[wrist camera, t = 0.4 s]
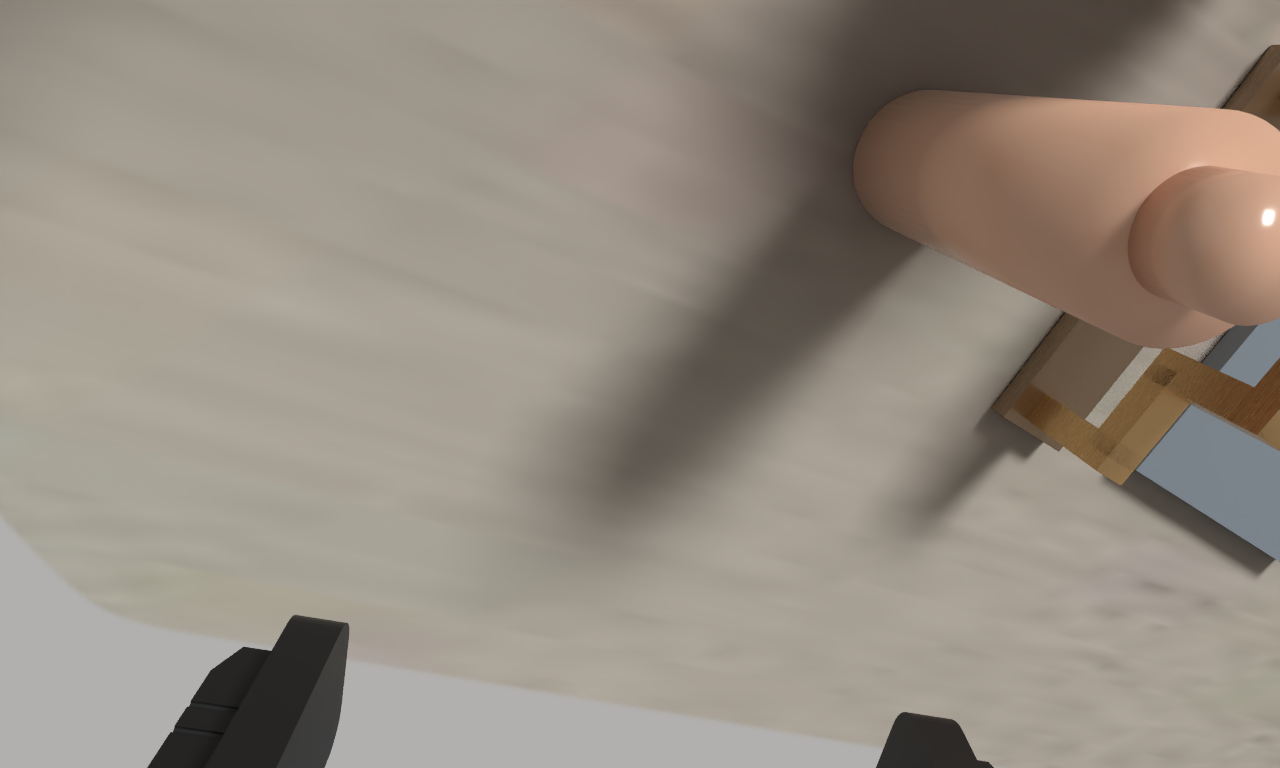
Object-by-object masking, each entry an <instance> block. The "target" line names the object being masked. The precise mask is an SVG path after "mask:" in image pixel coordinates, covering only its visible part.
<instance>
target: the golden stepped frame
mask: <svg viewBox="0 0 1280 768" xmlns="http://www.w3.org/2000/svg"><path fill="white" fill-rule="evenodd" d="M1222 109H1228V110H1237V111H1242V112H1245V113H1249V114H1252V115H1254V116H1257V117H1259V118H1261V119H1263V120H1265V121H1267V122H1268V123H1269V124H1271V125H1272V126H1274V127H1275V128H1277V129H1278V130H1279V131H1280V45H1271V46H1270V48H1269V49H1268V50H1267V51H1266V53H1265V54H1264V55H1263V57H1262V58H1261V59H1260V61H1259V62H1258V63H1257V64H1256V66H1255V67H1254V68H1253V70H1252V71H1251V72H1250V73H1249V75H1248V76H1247V77H1246V79H1245V80H1244V81H1243V83H1242V84H1241V85H1240V86H1239V88H1238V89H1237V90H1236V92H1235V93H1234V94H1233V95H1232V97H1231V98H1230V99H1229V101H1228V102H1227V103H1226V105H1225V106H1224V107H1223V108H1222ZM1143 347H1144V346H1139V345H1136V344H1133V343H1130V342H1128V341H1125V340H1123V339H1121V338H1119V337H1117V336H1114V335H1112V334H1110V333H1108V332H1106V331H1104V330H1102V329H1100V328H1098V327H1095V326H1093V325H1091V324H1089V323H1087V322H1085V321H1083V320H1081V319H1079V318H1077V317H1074V316H1072V315H1070V314H1068V313H1066V312H1065V313H1064V314H1063V316H1062V317H1061V318H1060V320H1059V321H1058V322H1057V323H1056V325H1055V326H1054V327H1053V329H1052V330H1051V331H1050V332H1049V334H1048V335H1047V336H1046V338H1045V339H1044V340H1043V342H1042V343H1041V344H1040V345H1039V347H1038V348H1037V349H1036V351H1035V352H1034V353H1033V354H1032V356H1031V357H1030V358H1029V360H1028V361H1027V362H1026V364H1025V365H1024V366H1023V367H1022V369H1021V370H1020V371H1019V373H1018V374H1017V375H1016V376H1015V378H1014V379H1013V380H1012V382H1011V383H1010V384H1009V386H1008V387H1007V388H1006V389H1005V391H1004V392H1003V393H1002V395H1001V396H1000V397H999V399H998V400H997V401H996V402H995V404H994V405H993V406H992V409H994V410H995V411H996V412H998V413H999V414H1000V415H1001V416H1003V417H1004V418H1006V419H1007V420H1009V421H1011V422H1012V423H1014V424H1015V425H1017V426H1019V427H1020V428H1022V429H1023V430H1025V431H1027V432H1028V433H1030V434H1031V435H1033V436H1035V437H1036V438H1038V439H1039V440H1041V441H1043V442H1044V443H1046V444H1047V445H1049V446H1051V447H1052V448H1054V449H1055V450H1057V451H1060V449H1061V448H1062V447H1063V446H1064V447H1065V448H1066V449H1068V450H1069V451H1070V452H1072V453H1073V454H1075V455H1076V456H1077V457H1079V458H1080V459H1081V460H1083V461H1084V462H1085V463H1087V464H1088V465H1089V466H1091V467H1092V468H1094V469H1095V470H1096V471H1098V472H1099V473H1101V474H1103V475H1104V476H1106V477H1107V478H1109V479H1111V480H1112V481H1114V482H1115V483H1117V484H1119V485H1120V486H1121V485H1122V484H1123V483H1124V482H1125V480H1126V479H1127V478H1128V477H1129V476H1130V474H1131V473H1132V472H1133V471H1134V470H1135V469H1136V467H1137V466H1138V465H1139V464H1140V463H1141V461H1142V460H1143V459H1144V458H1145V457H1146V455H1147V454H1148V453H1149V452H1150V451H1151V449H1152V448H1153V447H1154V446H1155V445H1156V443H1157V442H1158V441H1159V440H1160V439H1161V438H1162V436H1163V435H1164V434H1165V433H1166V432H1167V430H1168V429H1169V428H1170V427H1171V426H1172V424H1173V423H1174V422H1175V421H1176V420H1177V418H1178V417H1179V416H1180V415H1181V414H1182V412H1183V411H1184V410H1185V409H1186V408H1187V407H1188V405H1189V404H1190V405H1192V406H1194V407H1196V408H1198V409H1200V410H1202V411H1204V412H1206V413H1208V414H1209V415H1211V416H1213V417H1215V418H1217V419H1219V420H1221V421H1223V422H1225V423H1227V424H1228V425H1230V426H1232V427H1234V428H1236V429H1238V430H1240V431H1242V432H1244V433H1246V434H1247V435H1249V436H1251V437H1253V438H1255V439H1257V440H1259V441H1261V442H1263V443H1265V444H1266V445H1268V446H1270V447H1272V448H1274V449H1276V450H1278V451H1280V358H1279V359H1278V360H1277V361H1276V362H1275V364H1274V365H1273V366H1272V367H1271V368H1270V369H1269V371H1268V372H1267V373H1266V374H1265V375H1264V376H1263V378H1262V379H1261V380H1260V381H1259V382H1258V384H1257V385H1256V386H1255V387H1253V386H1251V385H1249V384H1246V383H1244V382H1242V381H1240V380H1238V379H1235V378H1233V377H1231V376H1229V375H1226V374H1224V373H1222V372H1220V371H1218V370H1215V369H1213V368H1211V367H1209V366H1207V365H1204V364H1202V363H1200V362H1198V361H1196V360H1193V359H1191V358H1189V357H1187V356H1185V355H1182V354H1180V353H1178V352H1176V351H1174V350H1171V349H1169V348H1167V349H1163V350H1162V352H1161V353H1160V354H1159V355H1158V356H1157V358H1156V359H1155V360H1154V361H1153V363H1152V364H1151V365H1150V366H1149V367H1148V369H1147V370H1146V371H1145V372H1144V374H1143V375H1142V376H1141V377H1140V379H1139V380H1138V381H1137V382H1136V383H1135V385H1134V386H1133V387H1132V388H1131V390H1130V391H1129V392H1128V393H1127V394H1126V396H1125V397H1124V398H1123V399H1122V401H1121V402H1120V403H1119V404H1118V406H1117V407H1116V408H1115V409H1114V410H1113V412H1112V413H1111V414H1110V415H1109V417H1108V418H1107V419H1106V420H1105V421H1104V423H1103V424H1102V425H1101V426H1100V428H1097V427H1095V426H1094V425H1092V424H1091V423H1089V422H1088V421H1086V420H1085V418H1086V417H1087V416H1088V415H1089V413H1090V412H1091V411H1092V410H1093V409H1094V407H1095V406H1096V405H1097V404H1098V402H1099V401H1100V400H1101V399H1102V397H1103V396H1104V395H1105V394H1106V392H1107V391H1108V390H1109V389H1110V387H1111V386H1112V385H1113V384H1114V383H1115V381H1116V380H1117V379H1118V378H1119V376H1120V375H1121V374H1122V373H1123V371H1124V370H1125V369H1126V368H1127V366H1128V365H1129V364H1130V363H1131V361H1132V360H1133V359H1134V358H1135V357H1136V355H1137V354H1138V353H1139V352H1140V350H1141V349H1142V348H1143Z"/></svg>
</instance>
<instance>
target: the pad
mask: <svg viewBox="0 0 1280 768" xmlns="http://www.w3.org/2000/svg"><path fill="white" fill-rule="evenodd" d="M1279 358H1280V318H1278V319H1276V320H1274V321H1271V322H1268V323H1264V324H1260V325H1253V326H1240V325H1235V326H1233V327H1232V328H1230V329H1229V331H1228V332H1227V333H1226V334H1225V335H1224V337H1223V338H1222V339H1221V340H1220V341H1219V343H1218V344H1217V345H1216V346H1215V347H1214V349H1213V350H1212V351H1211V352H1210V354H1209V355H1208V356H1207V357H1206V358H1205V360H1204V361H1203V362H1202V364H1204V365H1207V366H1209V367H1211V368H1213V369H1215V370H1218V371H1220V372H1222V373H1224V374H1226V375H1229V376H1231V377H1233V378H1235V379H1238V380H1240V381H1242V382H1244V383H1246V384H1249V385H1251V386H1253V387H1255V386H1256V385H1257V384H1258V382H1259V381H1260V380H1261V379H1262V378H1263V376H1264V375H1265V374H1266V373H1267V372H1268V371H1269V369H1270V368H1271V367H1272V366H1273V365H1274V364H1275V362H1276V361H1277V360H1278V359H1279ZM1135 470H1136V471H1138V472H1139V473H1141V474H1142V475H1144V476H1146V477H1147V478H1149V479H1150V480H1152V481H1153V482H1155V483H1157V484H1158V485H1160V486H1161V487H1163V488H1164V489H1166V490H1168V491H1169V492H1171V493H1172V494H1174V495H1175V496H1177V497H1179V498H1180V499H1182V500H1183V501H1185V502H1186V503H1188V504H1190V505H1191V506H1193V507H1194V508H1196V509H1197V510H1199V511H1201V512H1202V513H1204V514H1205V515H1207V516H1208V517H1210V518H1212V519H1213V520H1215V521H1216V522H1218V523H1219V524H1221V525H1223V526H1224V527H1226V528H1227V529H1229V530H1230V531H1232V532H1234V533H1235V534H1237V535H1238V536H1240V537H1241V538H1243V539H1245V540H1246V541H1248V542H1249V543H1251V544H1252V545H1254V546H1256V547H1257V548H1259V549H1260V550H1262V551H1263V552H1265V553H1267V554H1268V555H1270V556H1271V557H1273V558H1274V559H1276V560H1278V561H1279V562H1280V451H1278V450H1276V449H1274V448H1272V447H1270V446H1268V445H1266V444H1265V443H1263V442H1261V441H1259V440H1257V439H1255V438H1253V437H1251V436H1249V435H1247V434H1246V433H1244V432H1242V431H1240V430H1238V429H1236V428H1234V427H1232V426H1230V425H1228V424H1227V423H1225V422H1223V421H1221V420H1219V419H1217V418H1215V417H1213V416H1211V415H1209V414H1208V413H1206V412H1204V411H1202V410H1200V409H1198V408H1196V407H1194V406H1192V405H1190V404H1189V405H1188V407H1187V408H1186V409H1185V410H1184V411H1183V412H1182V414H1181V415H1180V416H1179V417H1178V418H1177V420H1176V421H1175V422H1174V423H1173V424H1172V426H1171V427H1170V428H1169V429H1168V430H1167V432H1166V433H1165V434H1164V435H1163V436H1162V438H1161V439H1160V440H1159V441H1158V442H1157V443H1156V445H1155V446H1154V447H1153V448H1152V449H1151V451H1150V452H1149V453H1148V454H1147V455H1146V457H1145V458H1144V459H1143V460H1142V461H1141V463H1140V464H1139V465H1138V466H1137V467H1136V469H1135Z"/></svg>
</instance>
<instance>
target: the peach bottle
mask: <svg viewBox="0 0 1280 768" xmlns="http://www.w3.org/2000/svg"><path fill="white" fill-rule="evenodd" d="M853 179H854V184H855V189H856V192H857V195H858V198H859V200H860V201H861V203H862V205H863V207H864V208H865V210H866V211H867V212H868V213H869V214H870V215H871V216H872V217H873V218H874V219H875V220H876V221H877V222H879V223H880V224H882V225H884V226H885V227H887V228H889V229H892V230H894V231H896V232H898V233H900V234H902V235H904V236H906V237H908V238H910V239H913V240H915V241H917V242H919V243H921V244H923V245H925V246H927V247H929V248H931V249H934V250H936V251H938V252H940V253H942V254H944V255H946V256H948V257H950V258H953V259H955V260H957V261H959V262H961V263H963V264H965V265H967V266H969V267H971V268H974V269H976V270H978V271H980V272H982V273H984V274H986V275H988V276H990V277H992V278H995V279H997V280H999V281H1001V282H1003V283H1005V284H1007V285H1009V286H1011V287H1013V288H1016V289H1018V290H1020V291H1022V292H1024V293H1026V294H1028V295H1030V296H1032V297H1035V298H1037V299H1039V300H1041V301H1043V302H1045V303H1047V304H1049V305H1051V306H1053V307H1056V308H1058V309H1060V310H1062V311H1064V312H1066V313H1068V314H1070V315H1072V316H1074V317H1077V318H1079V319H1081V320H1083V321H1085V322H1087V323H1089V324H1091V325H1093V326H1095V327H1098V328H1100V329H1102V330H1104V331H1106V332H1108V333H1110V334H1112V335H1114V336H1117V337H1119V338H1121V339H1123V340H1125V341H1128V342H1130V343H1133V344H1136V345H1139V346H1144V347H1148V348H1160V349H1167V348H1179V347H1184V346H1190V345H1194V344H1197V343H1200V342H1203V341H1206V340H1208V339H1211V338H1213V337H1215V336H1217V335H1220V334H1221V333H1223V332H1225V331H1227V330H1228V329H1230V328H1232V327H1233V326H1235V325H1240V326H1253V325H1260V324H1264V323H1268V322H1271V321H1274V320H1276V319H1278V318H1280V131H1279V130H1278V129H1277V128H1275V127H1274V126H1272V125H1271V124H1269V123H1268V122H1267V121H1265V120H1263V119H1261V118H1259V117H1257V116H1254V115H1252V114H1249V113H1245V112H1242V111H1237V110H1228V109H1216V108H1201V107H1186V106H1171V105H1156V104H1140V103H1125V102H1110V101H1095V100H1080V99H1065V98H1050V97H1035V96H1019V95H1004V94H989V93H974V92H959V91H944V90H919V91H914V92H910V93H907V94H904V95H902V96H900V97H898V98H896V99H894V100H892V101H891V102H889V103H888V104H886V105H885V106H884V107H883V108H882V109H880V110H879V111H878V112H877V113H876V114H875V115H874V117H873V118H872V119H871V120H870V122H869V123H868V124H867V126H866V127H865V129H864V131H863V133H862V135H861V137H860V139H859V141H858V144H857V147H856V151H855V155H854V161H853Z"/></svg>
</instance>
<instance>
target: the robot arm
mask: <svg viewBox="0 0 1280 768" xmlns="http://www.w3.org/2000/svg"><path fill="white" fill-rule="evenodd" d="M348 640H349V625H348V623H343V622H337V621H331V620H324V619H318V618H311V617H305V616H299V615H294V616H292V617H291V619H290V620H289V622H288V623H287V625H286V627H285V629H284V630H283V632H282V634H281V636H280V637H279V639H278V641H277V642H276V644H275V646H274V648H273V649H272V651H268V650H261V649H255V648H248V647H243V648H241V649H240V650H238V651H237V652H236V653H234V654H233V655H232V656H230V657H229V658H227V659H226V660H225V661H223V662H222V663H220V664H219V665H218V666H216V667H215V668H213V669H212V670H211V671H210V673H209V674H208V676H207V677H206V679H205V680H204V682H203V683H202V685H201V686H200V688H199V690H198V691H197V692H196V694H195V695H194V697H193V699H192V700H191V704H190V706H189V707H187V708H186V709H185V711H184V713H183V714H182V715H181V717H180V718H179V720H178V722H177V723H176V725H175V728H174V731H173V733H172V732H171V733H170V734H169V735H168V737H167V738H166V740H165V741H164V743H163V745H162V746H161V748H160V749H159V751H158V752H157V754H156V755H155V757H154V758H153V760H152V761H151V763H150V765H149V766H148V768H324V767H325V765H326V762H327V760H328V757H329V755H330V752H331V749H332V745H333V742H334V739H335V735H336V731H337V727H338V723H339V718H340V712H341V704H342V695H343V686H344V677H345V667H346V658H347V649H348ZM876 768H994V767H993V766H992V765H991V764H990V763H989V762H985V761H978V760H977V759H976V757H975V755H974V753H973V751H972V749H971V747H970V745H969V743H968V741H967V739H966V737H965V735H964V733H963V731H962V729H961V727H960V726H959V724H958V723H957V722H956V721H954V720H952V719H946V718H940V717H933V716H927V715H920V714H914V713H908V712H903V713H901V714H900V715H899V716H898V717H897V718H896V720H895V722H894V724H893V726H892V729H891V731H890V734H889V736H888V739H887V741H886V744H885V747H884V749H883V752H882V754H881V757H880V759H879V762H878V764H877V767H876Z"/></svg>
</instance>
